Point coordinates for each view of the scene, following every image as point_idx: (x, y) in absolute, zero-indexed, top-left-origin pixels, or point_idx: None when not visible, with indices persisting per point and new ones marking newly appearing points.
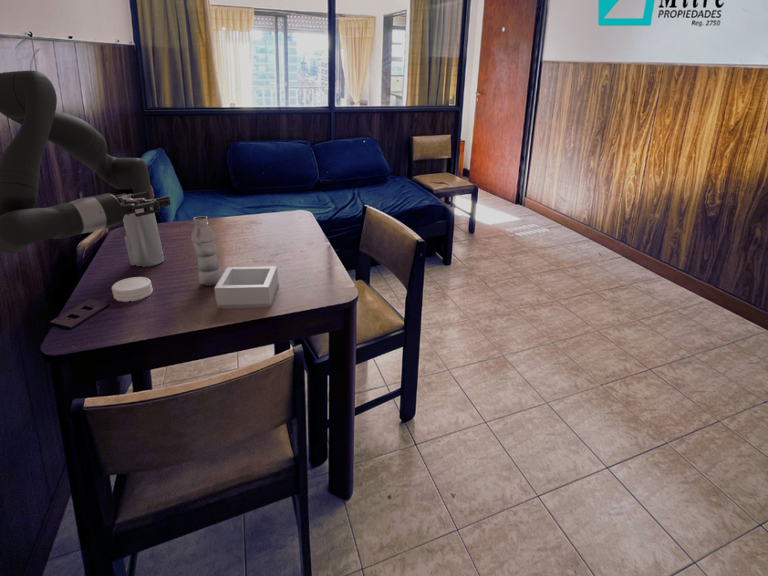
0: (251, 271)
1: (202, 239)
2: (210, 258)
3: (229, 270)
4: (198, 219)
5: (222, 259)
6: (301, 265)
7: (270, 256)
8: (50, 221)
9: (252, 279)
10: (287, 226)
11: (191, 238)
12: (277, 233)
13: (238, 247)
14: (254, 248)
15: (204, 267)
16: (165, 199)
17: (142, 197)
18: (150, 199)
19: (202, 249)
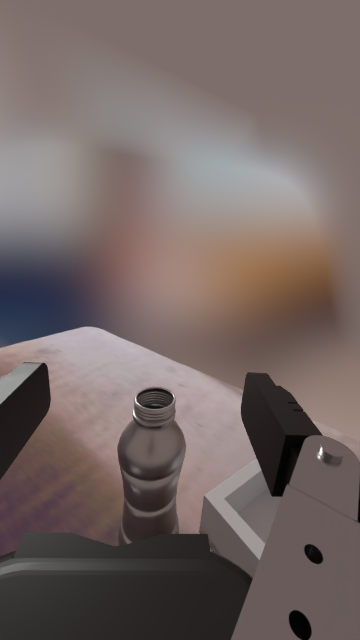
0: (253, 480)
1: (176, 462)
2: (175, 497)
3: (227, 507)
4: (137, 400)
5: (80, 445)
6: (222, 412)
7: None
8: None
9: (249, 495)
10: (102, 349)
11: (135, 470)
12: (104, 362)
13: (77, 404)
14: (107, 399)
15: (161, 531)
16: (292, 400)
17: (23, 413)
18: (299, 458)
19: (168, 488)
